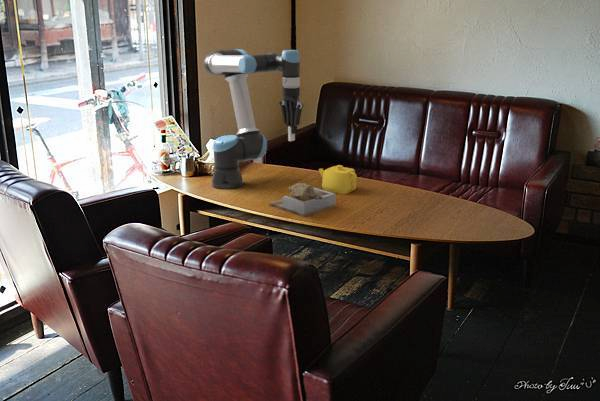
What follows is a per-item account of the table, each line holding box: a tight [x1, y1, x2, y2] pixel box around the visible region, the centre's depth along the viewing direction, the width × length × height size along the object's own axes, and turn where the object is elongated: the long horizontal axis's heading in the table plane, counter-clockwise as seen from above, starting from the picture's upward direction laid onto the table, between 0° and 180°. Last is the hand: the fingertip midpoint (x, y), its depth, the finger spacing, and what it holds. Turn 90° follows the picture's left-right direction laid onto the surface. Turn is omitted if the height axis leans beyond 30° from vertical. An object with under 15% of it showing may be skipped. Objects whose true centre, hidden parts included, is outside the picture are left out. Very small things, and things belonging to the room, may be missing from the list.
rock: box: [288, 182, 320, 201], centre depth 277 cm, size 11×12×10 cm
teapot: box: [318, 164, 358, 195], centre depth 302 cm, size 20×12×12 cm, turn 57°
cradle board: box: [268, 198, 336, 218], centre depth 280 cm, size 22×19×1 cm
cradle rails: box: [282, 187, 336, 214], centre depth 276 cm, size 14×19×5 cm
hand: (291, 140), depth 284 cm, fingers closed
